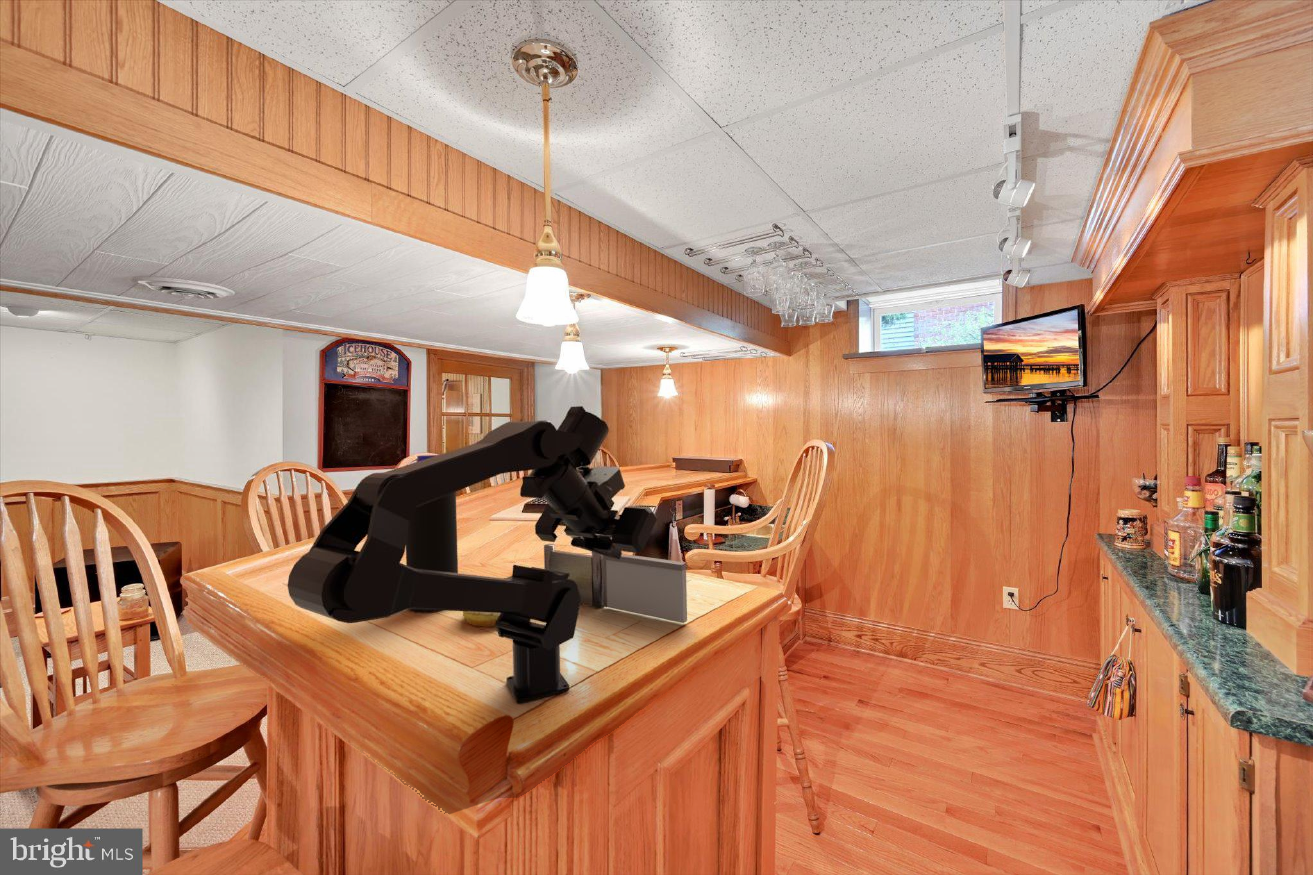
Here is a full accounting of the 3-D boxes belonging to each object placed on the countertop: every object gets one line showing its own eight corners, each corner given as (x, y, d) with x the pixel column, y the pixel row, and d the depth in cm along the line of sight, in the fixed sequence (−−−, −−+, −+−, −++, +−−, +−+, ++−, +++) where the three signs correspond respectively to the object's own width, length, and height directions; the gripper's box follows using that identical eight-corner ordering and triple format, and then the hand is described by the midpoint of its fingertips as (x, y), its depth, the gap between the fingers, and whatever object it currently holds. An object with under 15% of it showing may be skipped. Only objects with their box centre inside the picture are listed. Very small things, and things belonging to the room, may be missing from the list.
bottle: (447, 612, 93) (442, 456, 92) (398, 613, 93) (393, 457, 93) (465, 596, 102) (462, 453, 101) (421, 597, 102) (417, 454, 101)
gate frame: (542, 597, 100) (541, 545, 100) (550, 594, 102) (549, 543, 102) (599, 609, 93) (598, 553, 93) (606, 605, 95) (605, 551, 94)
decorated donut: (526, 627, 86) (525, 604, 86) (457, 633, 84) (457, 609, 84) (529, 606, 96) (529, 586, 96) (468, 611, 94) (468, 590, 94)
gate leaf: (601, 606, 93) (600, 553, 93) (607, 603, 94) (606, 551, 94) (682, 623, 84) (681, 564, 84) (687, 620, 85) (686, 562, 85)
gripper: (647, 448, 70) (689, 518, 79) (546, 448, 80) (594, 510, 89) (613, 516, 63) (663, 582, 73) (507, 506, 73) (563, 566, 83)
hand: (618, 556), depth 80 cm, fingers closed
